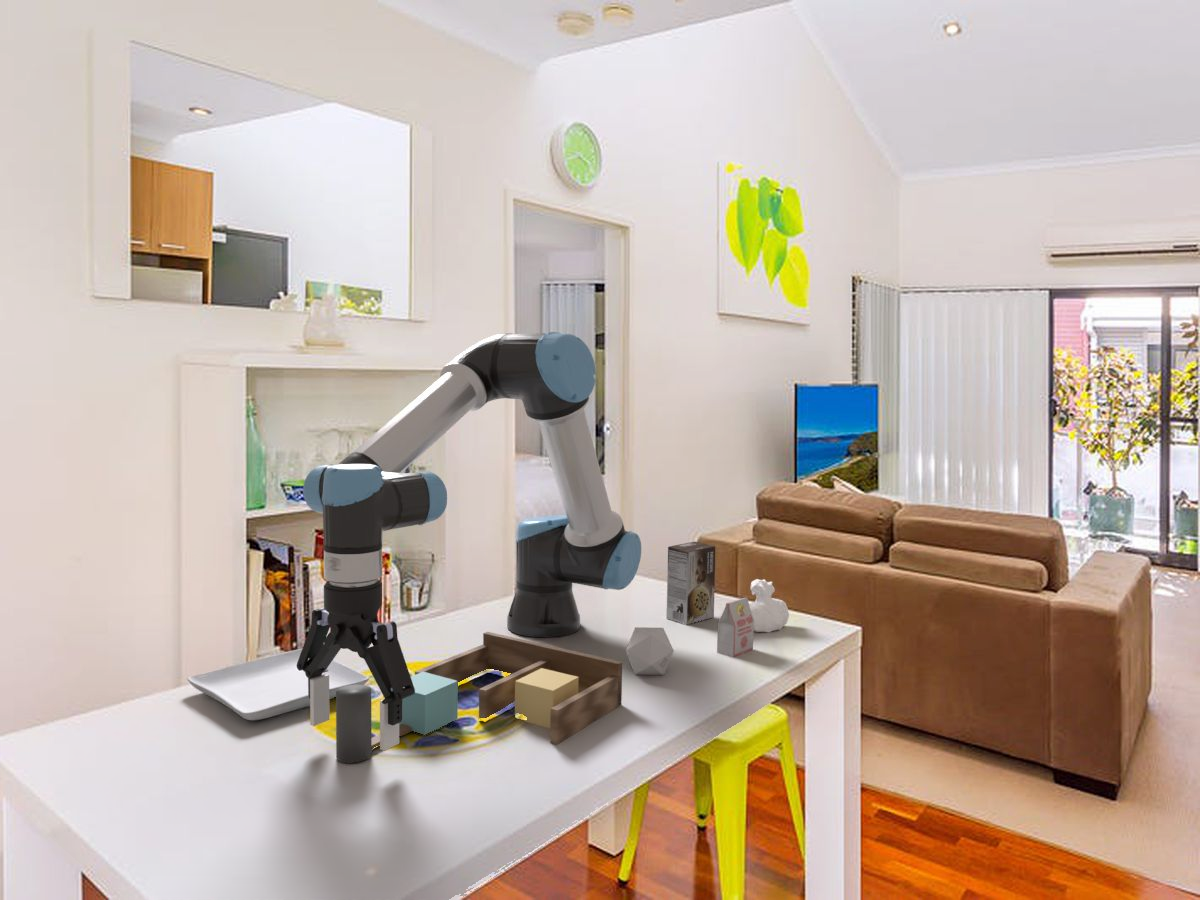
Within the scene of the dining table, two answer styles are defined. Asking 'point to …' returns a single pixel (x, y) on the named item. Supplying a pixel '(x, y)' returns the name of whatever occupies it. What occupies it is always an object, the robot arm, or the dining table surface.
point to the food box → (690, 582)
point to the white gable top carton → (735, 629)
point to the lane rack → (526, 657)
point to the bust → (767, 608)
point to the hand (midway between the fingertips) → (353, 734)
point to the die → (649, 651)
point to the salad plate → (269, 685)
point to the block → (543, 694)
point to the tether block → (419, 714)
